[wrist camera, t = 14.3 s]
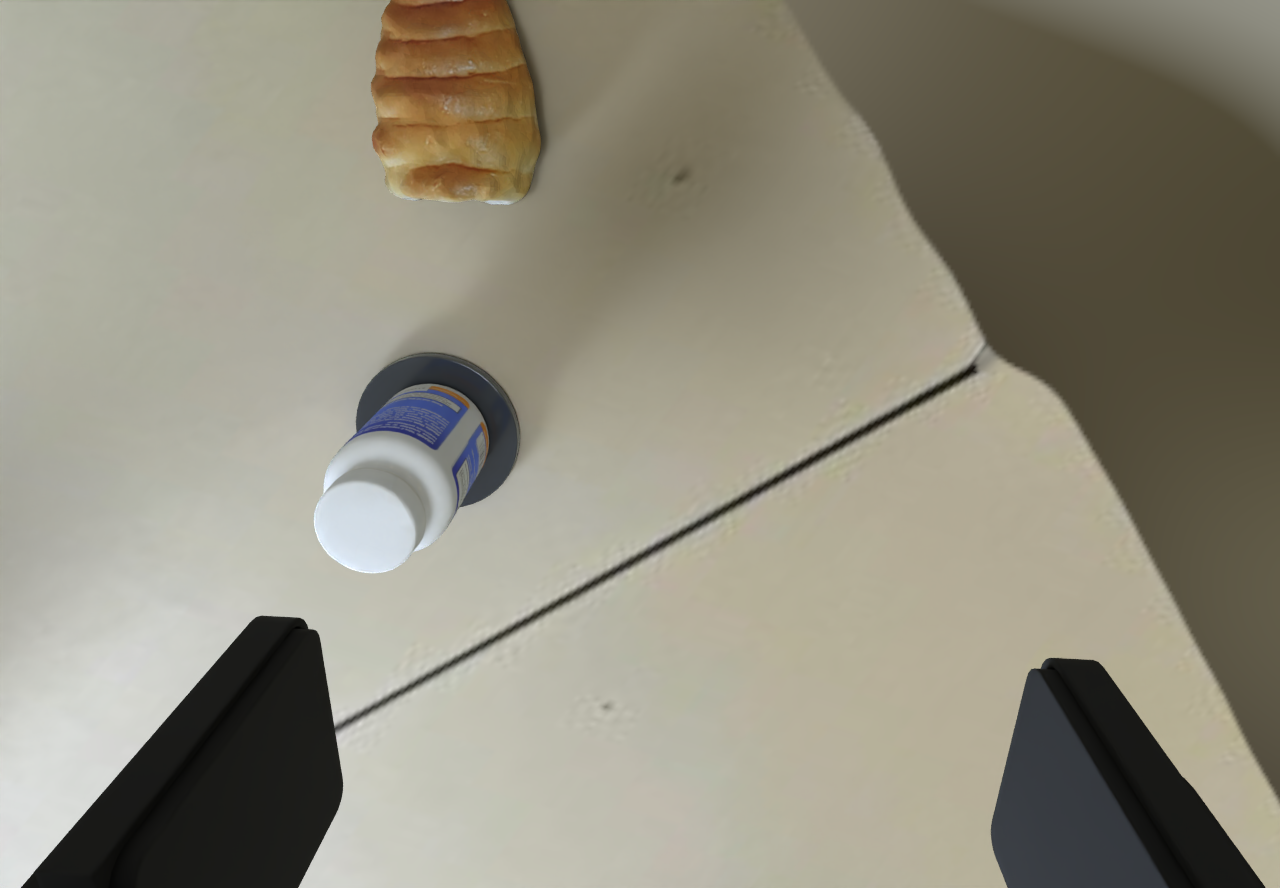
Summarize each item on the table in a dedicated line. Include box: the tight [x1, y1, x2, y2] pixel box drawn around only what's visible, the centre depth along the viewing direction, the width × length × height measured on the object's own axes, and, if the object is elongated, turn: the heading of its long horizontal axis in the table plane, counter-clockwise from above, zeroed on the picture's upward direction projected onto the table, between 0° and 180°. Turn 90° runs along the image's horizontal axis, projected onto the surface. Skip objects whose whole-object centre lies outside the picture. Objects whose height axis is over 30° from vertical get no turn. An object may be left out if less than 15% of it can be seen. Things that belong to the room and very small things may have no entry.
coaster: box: [356, 353, 520, 507], centre depth 40 cm, size 8×8×1 cm
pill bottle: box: [314, 384, 489, 573], centre depth 35 cm, size 5×5×10 cm
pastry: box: [371, 0, 541, 205], centre depth 33 cm, size 9×7×4 cm
